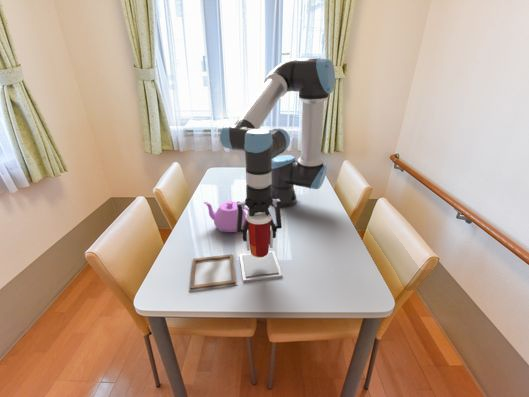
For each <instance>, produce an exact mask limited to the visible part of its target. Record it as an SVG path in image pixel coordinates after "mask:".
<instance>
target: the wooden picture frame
mask: <svg viewBox="0 0 529 397" xmlns="http://www.w3.org/2000/svg"><path fill="white" fill-rule="evenodd" d="M235 262H236V261H235V255H234V254H231V253H230V254H224V255H223V254H222V255H215V256H205V257H195V258H193V259H192V260H191V267H190V275H189V286H188V289H189V290H188V292H197V291H204V290H212V289H219V288H227V287H234V286H238V280H237V270H236V263H235Z"/></svg>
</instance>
